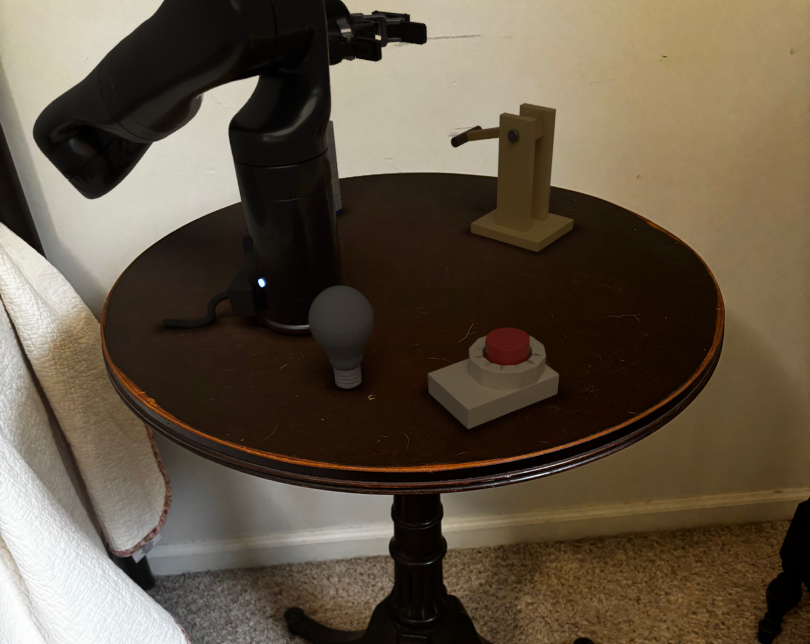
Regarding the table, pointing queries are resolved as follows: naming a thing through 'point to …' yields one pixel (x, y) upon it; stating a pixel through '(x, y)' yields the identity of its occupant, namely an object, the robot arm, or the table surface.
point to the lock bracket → (524, 183)
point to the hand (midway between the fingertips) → (402, 42)
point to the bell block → (492, 385)
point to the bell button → (507, 346)
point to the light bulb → (342, 330)
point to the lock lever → (490, 133)
